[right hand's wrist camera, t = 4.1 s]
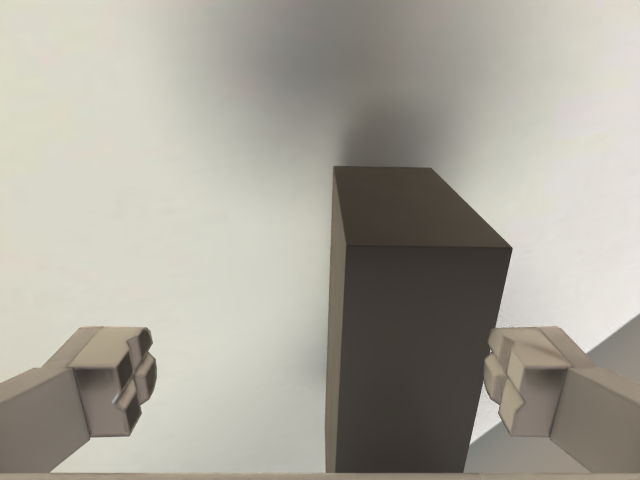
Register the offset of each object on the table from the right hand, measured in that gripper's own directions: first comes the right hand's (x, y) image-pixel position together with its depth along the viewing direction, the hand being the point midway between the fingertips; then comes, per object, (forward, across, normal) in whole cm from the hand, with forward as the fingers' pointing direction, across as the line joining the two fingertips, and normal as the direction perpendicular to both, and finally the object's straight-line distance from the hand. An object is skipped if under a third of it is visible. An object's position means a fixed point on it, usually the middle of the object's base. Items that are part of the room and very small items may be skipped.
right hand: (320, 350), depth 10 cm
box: (+19, -4, +10) cm, 22 cm away
